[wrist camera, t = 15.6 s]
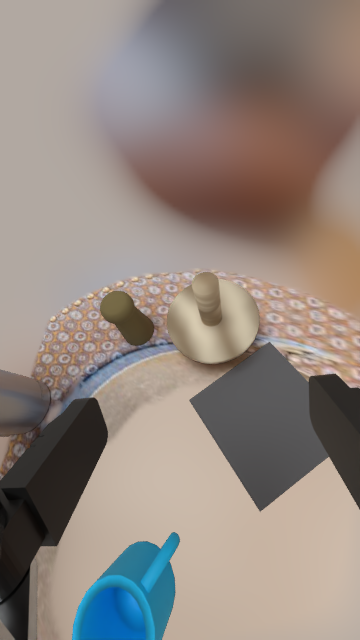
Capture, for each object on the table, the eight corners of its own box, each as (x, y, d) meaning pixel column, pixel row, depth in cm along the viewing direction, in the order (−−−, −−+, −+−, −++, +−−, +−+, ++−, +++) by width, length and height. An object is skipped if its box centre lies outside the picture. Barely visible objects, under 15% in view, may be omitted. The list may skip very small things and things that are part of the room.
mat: (259, 510, 29) (260, 511, 29) (189, 400, 37) (189, 400, 36) (355, 433, 30) (357, 433, 30) (269, 342, 38) (269, 341, 38)
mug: (143, 658, 26) (109, 745, 19) (99, 585, 29) (55, 634, 22) (208, 553, 28) (200, 594, 21) (160, 498, 32) (140, 516, 25)
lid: (201, 383, 32) (189, 364, 23) (153, 314, 39) (129, 278, 30) (279, 327, 34) (296, 288, 25) (220, 269, 40) (216, 222, 31)
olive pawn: (151, 346, 42) (126, 320, 32) (120, 344, 43) (88, 319, 34) (156, 316, 45) (135, 284, 35) (127, 316, 46) (99, 284, 36)
